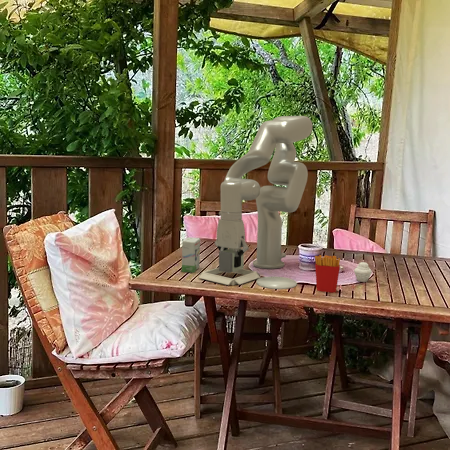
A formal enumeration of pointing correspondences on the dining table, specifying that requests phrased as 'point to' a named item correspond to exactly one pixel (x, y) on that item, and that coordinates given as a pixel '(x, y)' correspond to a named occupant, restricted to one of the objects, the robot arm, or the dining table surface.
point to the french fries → (327, 273)
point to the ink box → (190, 254)
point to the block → (228, 261)
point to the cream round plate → (276, 282)
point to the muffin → (362, 272)
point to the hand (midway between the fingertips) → (231, 265)
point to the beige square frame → (246, 277)
